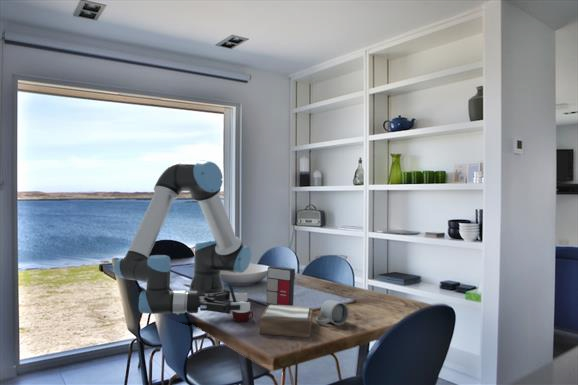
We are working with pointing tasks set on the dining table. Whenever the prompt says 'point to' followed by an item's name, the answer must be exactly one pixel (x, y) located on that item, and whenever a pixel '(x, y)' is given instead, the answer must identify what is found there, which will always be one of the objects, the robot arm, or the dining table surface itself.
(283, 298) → the calculator
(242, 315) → the cocoa
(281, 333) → the walnut stand
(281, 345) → the dining table surface
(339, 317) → the ceramic mug
